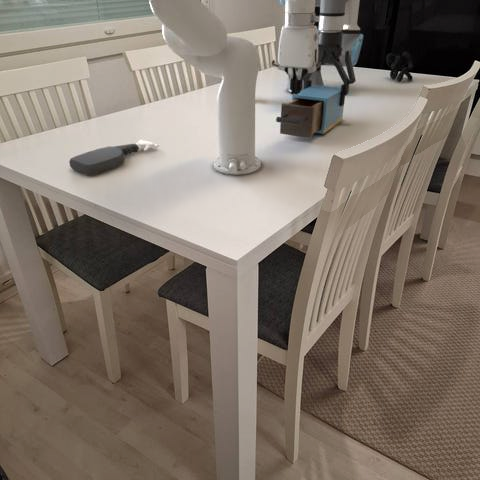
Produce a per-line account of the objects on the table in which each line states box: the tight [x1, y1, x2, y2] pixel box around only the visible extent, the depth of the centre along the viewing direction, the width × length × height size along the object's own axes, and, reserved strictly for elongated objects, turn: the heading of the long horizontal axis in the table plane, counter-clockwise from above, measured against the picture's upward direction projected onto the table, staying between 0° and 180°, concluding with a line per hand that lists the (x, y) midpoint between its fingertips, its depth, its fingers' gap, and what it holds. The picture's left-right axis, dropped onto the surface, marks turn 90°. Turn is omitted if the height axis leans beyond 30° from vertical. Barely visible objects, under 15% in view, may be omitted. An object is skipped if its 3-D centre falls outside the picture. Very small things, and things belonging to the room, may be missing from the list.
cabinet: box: [291, 85, 345, 135], centre depth 145 cm, size 19×11×11 cm, turn 151°
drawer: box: [275, 98, 324, 139], centre depth 135 cm, size 24×10×9 cm, turn 151°
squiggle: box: [385, 51, 414, 83], centre depth 198 cm, size 11×10×15 cm
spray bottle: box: [68, 139, 160, 177], centre depth 124 cm, size 3×11×24 cm
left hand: (295, 93), depth 124 cm, fingers closed
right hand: (324, 103), depth 149 cm, fingers closed on cabinet, 11 cm apart
